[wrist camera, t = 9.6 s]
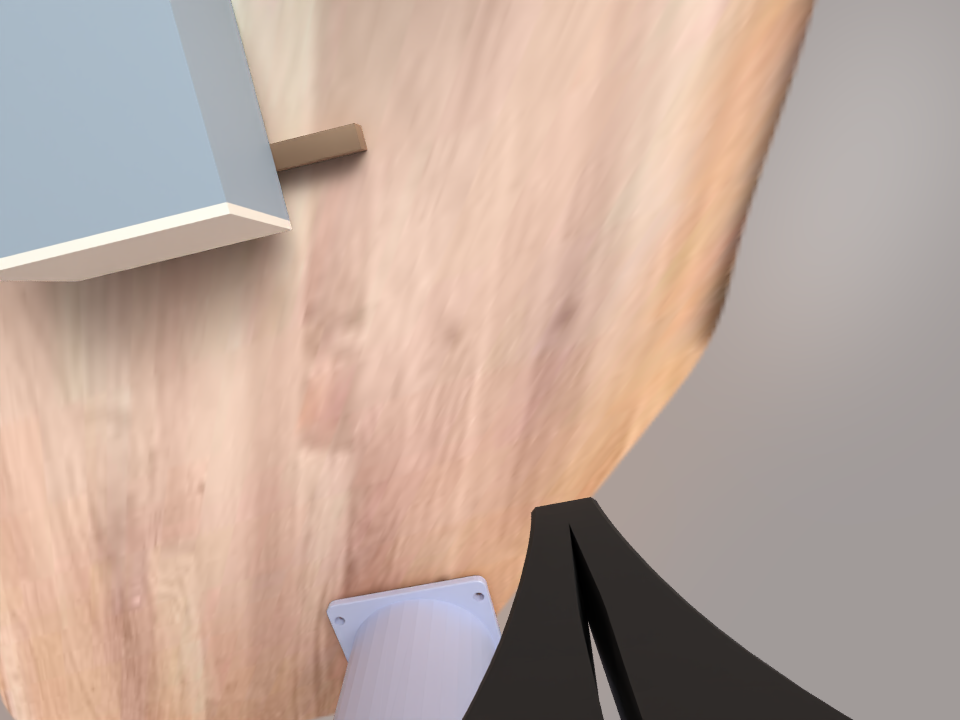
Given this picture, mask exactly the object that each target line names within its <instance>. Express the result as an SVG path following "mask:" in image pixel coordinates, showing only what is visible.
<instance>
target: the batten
mask: <svg viewBox="0 0 960 720" xmlns="http://www.w3.org/2000/svg"><path fill="white" fill-rule="evenodd" d="M269 145H270V149H271V152H272V156H273V160H274V164H275V167H276V171H277V172H279V171H283V170H287V169H292V168H296V167H300V166H304V165H308V164H312V163H316V162H320V161H324V160H328V159H333V158H337V157H341V156H345V155H349V154H353V153H357V152H361V151H365V150H367V146H366V143H365V139H364V135H363V132H362V128H361V126H360V125H358V124H355V123H353V124H349V125H345V126H341V127H337V128H333V129H329V130H325V131H321V132H317V133H313V134H309V135H305V136H301V137H297V138H293V139H289V140H285V141H281V142H277V143H273V144H269Z"/></svg>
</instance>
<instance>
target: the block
mask: <svg viewBox="0 0 960 720" xmlns="http://www.w3.org/2000/svg"><path fill="white" fill-rule="evenodd" d="M289 230H292V227H291V223H290V220H289V216H288V212H287V208H286V205H285V201H284V197H283V193H282V190H281V186H280V182H279V179H278V175H277V171H276V167H275V164H274V160H273V156H272V152H271V149H270V145H269V141H268V138H267V134H266V130H265V126H264V123H263V119H262V115H261V111H260V108H259V104H258V100H257V96H256V93H255V89H254V85H253V82H252V78H251V74H250V70H249V67H248V63H247V59H246V55H245V52H244V48H243V44H242V41H241V37H240V33H239V29H238V26H237V22H236V18H235V14H234V11H233V7H232V3H231V0H0V281H72V282H78V281H82V280H86V279H90V278H94V277H99V276H103V275H107V274H111V273H115V272H119V271H123V270H128V269H132V268H136V267H140V266H144V265H148V264H152V263H157V262H161V261H165V260H169V259H173V258H177V257H181V256H186V255H190V254H194V253H198V252H202V251H206V250H210V249H214V248H219V247H223V246H227V245H231V244H235V243H239V242H243V241H248V240H252V239H256V238H260V237H264V236H268V235H272V234H277V233H281V232H285V231H289Z"/></svg>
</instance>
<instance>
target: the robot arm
mask: <svg viewBox="0 0 960 720" xmlns="http://www.w3.org/2000/svg"><path fill="white" fill-rule="evenodd" d="M476 593H482V594H480V595H477V594H476ZM327 615H328V618H329V620H330V622H331V624H332V627H333V629H334V631H335V634H336V636H337V638H338V641H339V643H340V645H341V648H342V650H343V652H344V654H345V657H346V659H347V661H348V665H347V669H346V673H345V677H344V681H343V684H342V688H341V692H340V696H339V700H338V703H337V707H336V711H335V715H334V719H333V720H604V719H603V715H602V710H601V706H600V702H599V696H598V689H597V682H596V675H595V668H594V662H593V654H592V647H591V640H590V633H589V626H590V629H591V632H592V635H593V638H594V640H595V644H596V647H597V650H598V653H599V656H600V659H601V661H602V665H603V668H604V670H605V673H606V677H607V680H608V683H609V686H610V688H611V692H612V694H613V697H614V700H615V703H616V706H617V709H618V712H619V715H620V718H621V720H852V719H851V718H849V717H847V716H846V715H844V714H842V713H841V712H839V711H838V710H836V709H834V708H833V707H831V706H829V705H828V704H826V703H825V702H823V701H821V700H820V699H818V698H817V697H815V696H814V695H812V694H810V693H809V692H807V691H806V690H804V689H802V688H801V687H799V686H798V685H797V684H795V683H794V682H792V681H791V680H789V679H788V678H786V677H785V676H784V675H782V674H780V673H779V672H778V671H776V670H775V669H773V668H772V667H771V666H769V665H768V664H766V663H765V662H763V661H762V660H760V659H759V658H758V657H756V656H755V655H753V654H752V653H750V652H749V651H748V650H746V649H745V648H743V647H742V646H741V645H740V644H738V643H737V642H736V641H734V640H733V639H732V638H730V637H729V636H728V635H727V634H725V633H724V632H723V631H721V630H720V629H718V627H716V626H715V625H714V624H713V623H712V622H710V621H709V620H708V619H707V618H705V617H704V616H703V615H702V614H701V613H699V612H698V611H697V610H696V609H695V608H693V607H692V606H691V605H690V604H689V603H688V602H687V601H686V600H685V599H683V598H682V597H681V596H680V595H679V594H678V593H677V592H676V591H675V590H674V589H673V588H672V587H670V586H669V585H668V584H667V583H666V582H665V581H664V580H663V579H662V578H661V577H660V576H659V575H658V574H657V573H656V572H655V571H654V570H653V569H652V568H651V567H650V566H649V565H648V564H647V563H646V562H645V560H644V559H643V558H642V557H641V556H640V555H639V554H638V553H637V552H636V551H635V550H634V549H633V548H632V546H631V545H630V544H629V543H628V542H627V541H626V540H625V538H624V537H623V536H622V535H621V534H620V533H619V531H618V530H617V529H616V528H615V527H614V525H613V524H612V523H611V521H610V520H609V519H608V517H607V516H606V515H605V513H604V512H603V510H602V509H601V507H600V506H599V504H598V503H597V501H596V500H594V499H593V498H591V497H589V498H583V499H578V500H573V501H567V502H562V503H556V504H551V505H546V506H540V507H535V509H534V510H533V511H532V512H531V531H530V538H529V544H528V549H527V554H526V558H525V563H524V567H523V571H522V575H521V579H520V583H519V586H518V589H517V592H516V596H515V599H514V602H513V605H512V608H511V611H510V614H509V617H508V620H507V623H506V626H505V628H504V631H503V634H502V636H501V632H500V629H499V625H498V622H497V618H496V614H495V611H494V607H493V603H492V600H491V596H490V593H489V589H488V585H487V582H486V580H485V579H484V578H483V577H481V576H469V577H464V578H458V579H453V580H447V581H441V582H436V583H430V584H424V585H419V586H413V587H407V588H402V589H396V590H390V591H385V592H379V593H373V594H368V595H362V596H356V597H351V598H345V599H339V600H335V601H332V602H331V603H330V604H329V606H328V609H327ZM339 617H342V618H339ZM588 623H589V626H588Z"/></svg>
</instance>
